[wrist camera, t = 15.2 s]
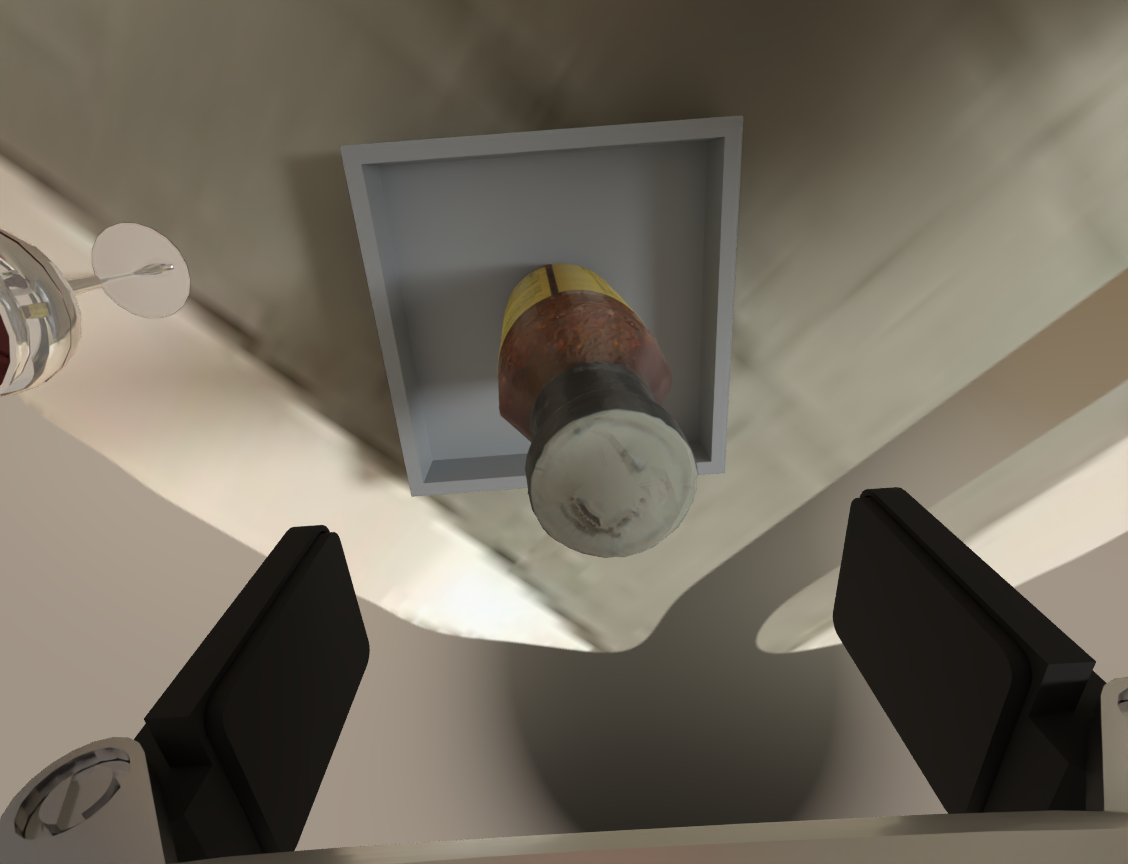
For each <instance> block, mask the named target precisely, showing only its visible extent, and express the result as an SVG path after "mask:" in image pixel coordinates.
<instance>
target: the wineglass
mask: <svg viewBox="0 0 1128 864" xmlns="http://www.w3.org/2000/svg"><path fill="white" fill-rule="evenodd" d="M92 265H93V269H94V272H95V275H96V276H90V277H83V278H76V279H69V280H66V279H65V277H64V276H63V274H62V273H61V271H60V270H59V268H58V267H57V266H56V265H55V264H54V263H53V262H52V261H50V260H49V259H48V258H47V257H46V256H45V255H44V254H43V253H42V252H41V251H40V250H39V249H38V248H37V247H35V246H34V245H32V244H30V243H29V242H27V241H25V240H24V239H22V238H20V237H19V236H17V235H15V234H13V233H12V232H10V231H7V230H4V229H2V228H0V396H6V395H13V394H17V393H20V392H23V391H26V390H29V389H32V388H35V387H38V386H39V385H41V384H42V383H44V382H46V381H47V380H49V379H50V378H52V377H53V376H54V375H55V374H56V373H57V372H58V371H59V370H61V369H62V368H63V367H64V366H65V365H66V364H67V363H68V362H69V360H70V359H71V358H72V356H73V355H74V353H75V351H76V348H77V346H78V343H79V341H80V339H81V312H80V309H79V306H78V303H77V300H76V297H75V295H76V294H79V293H83V292H86V291H90V290H93V289H96V288H100V287H102V288H103V290H104V291H105V293H106V294H107V295H108V296H109V297H110V298H111V299H112V300H113V301H114V302H115V303H117V304H118V305H119V306H121V307H122V308H124V309H126V310H127V311H129V312H131V313H133V314H136V315H140V316H143V317H146V318H163V317H166V316H169V315H171V314H174V313H175V312H177V311H178V310H179V309H180V308H181V307H182V306H183V305H184V304H185V301H186V299H187V297H188V295H189V290H190V277H189V273H188V269H187V265H186V263H185V261H184V260H183V258H182V256H181V254H180V253H179V251H178V250H177V249H176V248H175V247H174V245H173V244H172V243H171V242H170V241H169V240H168V239H167V238H166V237H164V236H163V235H161V234H159V233H158V232H156V231H155V230H153V229H151V228H149V227H145V226H142V225H139V224H136V223H119V224H116V225H114V226H111V227H108V228H106V229H105V230H104V231H103V232H102V233H101V234H100V235H99V236H98V237H97V239H96V242H95V244H94V247H93V249H92Z"/></svg>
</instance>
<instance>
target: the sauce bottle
mask: <svg viewBox="0 0 1128 864" xmlns="http://www.w3.org/2000/svg"><path fill="white" fill-rule="evenodd" d="M497 373H498V389H499V412H500V415H501V417H503V418H504V419H505V420H506V421H507V422H509V423H510V424H511V425H512V426H513V427H514V428H515V429H517V430H518V431H519V432H520V433H521V434H522V435H523V436H524V437H526V438H527V439H528V440H529V441H530V442H531V445H530V448H529V450H528V454H527V457H526V464H525V472H526V479H527V486H528V494H529V498H530V502H531V506H532V510H533V512H534V513H535V515H536V516H537V518H538V520H539V522H540V524H541V526H542V527H543V529H544V530H545V531H546V532H547V534H548V535H550V536H551V537H552V538H553V539H555V540H556V541H558V542H560V543H562V544H564V545H565V546H567V547H568V548H571V549H573V550H576V551H578V552H581V553H584V554H588V555H593V556H598V557H604V558H608V557H626V556H630V555H634V554H637V553H640V552H643V551H645V550H647V549H649V548H652V547H654V546H655V545H657V544H658V543H659V542H660V541H662V540H663V539H664V538H666V537H667V536H668V535H669V534H670V533H671V532H673V531H674V530H675V529H676V528H678V526H679V525H680V523H681V522H682V520H683V519H684V517H685V515H686V514H687V512H688V510H689V508H690V506H691V504H692V502H693V499H694V496H695V493H696V480H697V475H698V469H697V464H696V461H695V457H694V454H693V452H692V449H691V447H690V445H689V443H688V442H687V439H686V437H685V435H684V434H683V432H682V430H681V429H680V427H679V425H678V424H677V422H676V421H675V420H674V418H673V417H672V415H670V414H669V413H667V412H666V411H665V410H664V408H662V407H661V406H662V403H663V401H664V399H665V397H666V396H667V394H668V393H669V391H670V387H671V384H672V374H671V370H670V368H669V366H668V364H667V362H666V360H665V358H664V356H663V354H662V352H661V349H660V348H659V346H658V343H657V340H656V339H655V338H654V337H653V336H652V335H651V334H650V332H649V331H648V330H647V328H646V326H645V324H644V323H643V321H642V320H641V319H640V318H639V316H638V315H637V314H636V313H635V312H634V311H633V310H632V309H631V308H630V307H629V306H628V304H627V303H626V302H625V301H624V300H623V299H622V298H621V297H620V296H619V295H618V294H617V292H616V291H615V290H613V289H612V288H611V287H610V285H609V284H608V283H607V282H606V281H605V280H604V279H602V278H601V277H600V276H599V275H597V274H596V273H594V272H593V271H591V270H589V269H587V268H585V267H582V266H578V265H574V264H567V263H559V264H548V265H544V266H541V267H540V268H538V269H536V270H535V271H533V272H532V273H530V274H529V275H528V276H526V277H525V278H524V279H523V280H522V281H521V282H520V283H519V284H518V285H517V286H516V287H515V288H514V290H513V291H512V293H511V295H510V298H509V300H508V303H507V306H506V309H505V314H504V320H503V328H502V337H501V344H500V350H499V358H498V369H497Z"/></svg>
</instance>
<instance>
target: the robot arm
mask: <svg viewBox="0 0 1128 864" xmlns="http://www.w3.org/2000/svg"><path fill="white" fill-rule="evenodd" d="M833 623H834V627H835V630H836V633H837V635H838V636H839V638H840V640H841V641H842V643H843V645H844V646H845V648H846V649H847V651H848V653H849V654H850V656H851V657H852V659H853V661H854V662H855V664H856V666H857V667H858V669H859V670H860V672H861V674H862V675H863V677H864V678H865V680H866V682H867V683H868V685H869V687H870V688H871V690H872V691H873V693H874V695H875V696H876V698H877V700H878V701H879V703H880V704H881V706H882V708H883V709H884V711H885V712H886V714H887V716H888V717H889V719H890V721H891V722H892V724H893V726H894V727H895V729H896V730H897V732H898V733H899V735H900V737H901V738H902V740H903V742H904V743H905V745H906V747H907V748H908V750H909V751H910V753H911V755H912V756H913V758H914V760H915V761H916V763H917V764H918V766H919V768H920V769H921V771H922V773H923V774H924V776H925V777H926V779H927V781H928V782H929V784H930V786H931V787H932V789H933V790H934V792H935V794H936V795H937V797H938V798H939V800H940V802H941V803H942V805H943V806H944V808H945V809H946V811H947V812H948V814H932V815H910V816H891V817H871V818H851V819H831V820H811V821H791V822H771V823H752V824H734V825H714V826H697V827H680V828H679V827H678V828H662V829H643V830H624V831H606V832H590V833H572V834H555V835H536V836H520V837H503V838H488V839H471V840H455V841H441V842H440V841H439V842H423V843H406V844H391V845H374V846H358V847H342V848H330V849H318V850H304V851H294V850H295V848H296V846H297V844H298V841H299V839H300V836H301V834H302V831H303V828H304V826H305V823H306V821H307V818H308V816H309V813H310V810H311V808H312V805H313V803H314V800H315V797H316V795H317V792H318V790H319V787H320V785H321V782H322V779H323V777H324V774H325V772H326V769H327V767H328V764H329V762H330V759H331V756H332V754H333V751H334V749H335V746H336V743H337V741H338V738H339V736H340V733H341V731H342V728H343V725H344V723H345V720H346V718H347V715H348V713H349V710H350V707H351V705H352V702H353V700H354V697H355V695H356V692H357V689H358V687H359V684H360V682H361V679H362V677H363V674H364V671H365V669H366V666H367V663H368V659H369V651H370V649H369V641H368V638H367V634H366V630H365V627H364V623H363V620H362V616H361V613H360V609H359V605H358V602H357V599H356V595H355V591H354V588H353V584H352V580H351V577H350V573H349V570H348V566H347V563H346V559H345V555H344V552H343V548H342V545H341V541H340V538H339V536H338V534H337V533H335V532H330V531H329V529H328V528H327V527H326V526H324V525H316V526H301V527H292V528H290V529H289V530H288V531H287V532H286V533H285V535H284V536H283V537H282V538H281V540H280V541H279V542H278V544H277V545H276V546H275V548H274V549H273V550H272V552H271V553H270V554H269V556H268V557H267V558H266V559H265V561H264V562H263V563H262V565H261V566H260V567H259V569H258V570H257V571H256V573H255V574H254V575H253V577H252V578H251V579H250V580H249V582H248V583H247V584H246V586H245V587H244V588H243V590H242V591H241V593H240V594H239V595H238V596H237V598H236V599H235V600H234V602H233V603H232V604H231V606H230V607H229V608H228V609H227V611H226V612H225V613H224V615H223V616H222V617H221V618H220V620H219V621H218V622H217V624H216V625H215V626H214V628H213V629H212V630H211V632H210V633H209V634H208V635H207V637H206V638H205V639H204V641H203V642H202V643H201V645H200V646H199V647H198V649H197V650H196V651H195V653H194V654H193V655H192V656H191V658H190V659H189V660H188V662H187V663H186V664H185V666H184V667H183V668H182V670H181V671H180V672H179V673H178V675H177V676H176V677H175V679H174V680H173V681H172V683H171V684H170V685H169V687H168V688H167V689H166V691H165V692H164V693H163V694H162V696H161V697H160V698H159V700H158V701H157V702H156V704H155V705H154V706H153V708H152V709H151V710H150V711H149V713H148V714H147V715H146V717H145V718H144V720H145V722H146V724H145V725H144V727H143V728H142V729H141V731H140V732H139V733H138V735H137V736H136V737H135V739H134V740H132V739H130V738H127V737H126V738H125V737H112V738H107V739H103V740H99V741H95V742H92V743H90V744H87V745H85V746H83V747H81V748H78V749H75V750H74V751H71V752H70V753H68V754H66V755H65V756H63V757H61V758H60V759H58V760H56V761H55V762H53V763H51V764H50V765H49V766H47V767H46V768H45V769H44V770H42V771H41V772H40V773H39V774H37V775H36V776H35V777H34V778H32V779H31V780H30V781H29V782H28V783H27V784H26V785H25V786H24V787H23V788H22V789H21V791H19V792H18V793H17V795H16V796H15V797H14V798H13V799H12V801H11V802H10V804H9V805H8V807H7V808H6V810H5V812H4V813H3V814H2V816H1V819H0V864H1128V677H1123V678H1115V679H1113V680H1111V681H1110V682H1108V683H1106V682H1105V681H1104V680H1102V679H1101V678H1100V677H1099V676H1098V675H1097V674H1096V673H1095V672H1094V671H1093V668H1094V666H1095V663H1096V661H1095V660H1094V659H1093V658H1091V657H1090V656H1089V655H1088V654H1087V653H1086V652H1085V651H1084V650H1083V649H1081V648H1080V647H1079V646H1078V645H1077V644H1076V643H1075V642H1074V641H1072V640H1071V639H1070V638H1069V637H1068V636H1067V635H1066V634H1065V633H1063V632H1062V631H1061V630H1060V629H1059V628H1058V627H1057V626H1056V625H1055V624H1053V623H1052V622H1051V621H1050V620H1049V619H1048V618H1047V617H1046V616H1045V615H1043V614H1042V613H1041V612H1040V611H1039V610H1038V609H1037V608H1036V607H1035V606H1033V605H1032V604H1031V603H1030V602H1029V601H1028V600H1027V599H1026V598H1024V597H1023V596H1022V595H1021V594H1020V593H1019V592H1018V591H1016V589H1014V588H1013V587H1012V586H1011V585H1010V584H1009V583H1008V582H1007V581H1005V580H1004V579H1003V578H1002V577H1001V576H1000V575H999V574H998V573H997V572H995V571H994V570H993V569H992V568H991V567H990V566H989V565H988V564H986V563H985V562H984V561H983V560H982V559H981V558H980V557H979V556H978V555H976V554H975V553H974V552H973V551H972V550H971V549H970V548H969V547H967V546H966V545H965V544H964V543H963V542H962V541H961V540H960V539H959V538H957V537H956V536H955V535H954V534H953V533H952V532H951V531H950V530H948V529H947V528H946V527H945V526H944V525H943V524H942V523H941V522H940V521H938V520H937V519H936V518H935V517H934V516H933V515H932V514H931V513H929V512H928V511H927V510H926V509H925V508H924V507H923V506H922V505H920V504H919V503H918V502H917V501H916V500H915V499H914V498H912V497H911V496H910V495H909V494H908V493H907V492H906V491H905V490H903V489H902V488H897V487H894V488H880V489H866V490H864V491H863V492H862V494H861V495H860V498H855V499H854V500H853V501H852V503H851V507H850V513H849V519H848V526H847V531H846V537H845V543H844V549H843V555H842V561H841V567H840V573H839V579H838V586H837V592H836V598H835V604H834V610H833Z"/></svg>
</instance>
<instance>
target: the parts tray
mask: <svg viewBox="0 0 1128 864" xmlns="http://www.w3.org/2000/svg"><path fill="white" fill-rule="evenodd" d="M743 117H744V115H739V116H726V117H713V118H699V119H686V120H673V121H660V122H646V123H633V124H620V125H607V126H593V127H580V128H567V129H554V130H540V131H527V132H514V133H501V134H487V135H474V136H461V137H448V138H434V139H421V140H408V141H395V142H381V143H368V144H355V145H342V146H340V151H341V156H342V160H343V165H344V170H345V175H346V180H347V185H348V190H349V195H350V199H351V204H352V209H353V214H354V219H355V224H356V229H357V233H358V238H359V243H360V248H361V253H362V258H363V263H364V267H365V272H366V277H367V282H368V287H369V292H370V297H371V301H372V306H373V311H374V316H375V321H376V326H377V331H378V335H379V340H380V345H381V350H382V355H383V360H384V365H385V369H386V374H387V379H388V384H389V389H390V394H391V399H392V403H393V408H394V413H395V418H396V423H397V428H398V433H399V437H400V442H401V447H402V452H403V457H404V462H405V467H406V471H407V476H408V481H409V486H410V491H411V496H412V497H413V496H427V495H440V494H453V493H467V492H480V491H493V490H506V489H520V488H528V486H527V479H526V472H525V464H526V457H527V454H528V450H529V448H530V445H531V442H530V441H529V440H528V439H527V438H526V437H524V436H523V435H522V434H521V433H520V432H519V431H518V430H517V429H515V428H514V427H513V426H512V425H511V424H510V423H509V422H507V421H506V420H505V419H504V418H503V417H501V415H500V412H499V389H498V373H497V369H498V358H499V350H500V344H501V337H502V328H503V320H504V314H505V309H506V306H507V303H508V300H509V298H510V295H511V293H512V291H513V290H514V288H515V287H516V286H517V285H518V284H519V283H520V282H521V281H522V280H523V279H524V278H525V277H526V276H528V275H529V274H530V273H532V272H533V271H535V270H536V269H538V268H540V267H541V266H544V265H548V264H559V263H567V264H574V265H578V266H582V267H585V268H587V269H589V270H591V271H593V272H594V273H596V274H597V275H599V276H600V277H601V278H602V279H604V280H605V281H606V282H607V283H608V284H609V285H610V287H611V288H612V289H613V290H615V291H616V292H617V294H618V295H619V296H620V297H621V298H622V299H623V300H624V301H625V302H626V303H627V304H628V306H629V307H630V308H631V309H632V310H633V311H634V312H635V313H636V314H637V315H638V316H639V318H640V319H641V320H642V321H643V323H644V324H645V326H646V328H647V330H648V331H649V332H650V334H651V335H652V336H653V337H654V338H655V339H656V340H657V343H658V346H659V348H660V349H661V352H662V354H663V356H664V358H665V360H666V362H667V364H668V366H669V368H670V370H671V374H672V384H671V387H670V391H669V393H668V394H667V396H666V397H665V399H664V401H663V403H662V406H661V407H662V408H664V410H665V411H666V412H667V413H669V414H670V415H672V417H673V418H674V420H675V421H676V422H677V424H678V425H679V427H680V429H681V430H682V432H683V434H684V435H685V437H686V439H687V442H688V443H689V445H690V447H691V449H692V452H693V454H694V457H695V461H696V464H697V469H698V475H706V474H719V473H725V459H726V440H727V421H728V402H729V383H730V364H731V345H732V326H733V307H734V288H735V269H736V250H737V231H738V212H739V193H740V174H741V155H742V136H743Z"/></svg>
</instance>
